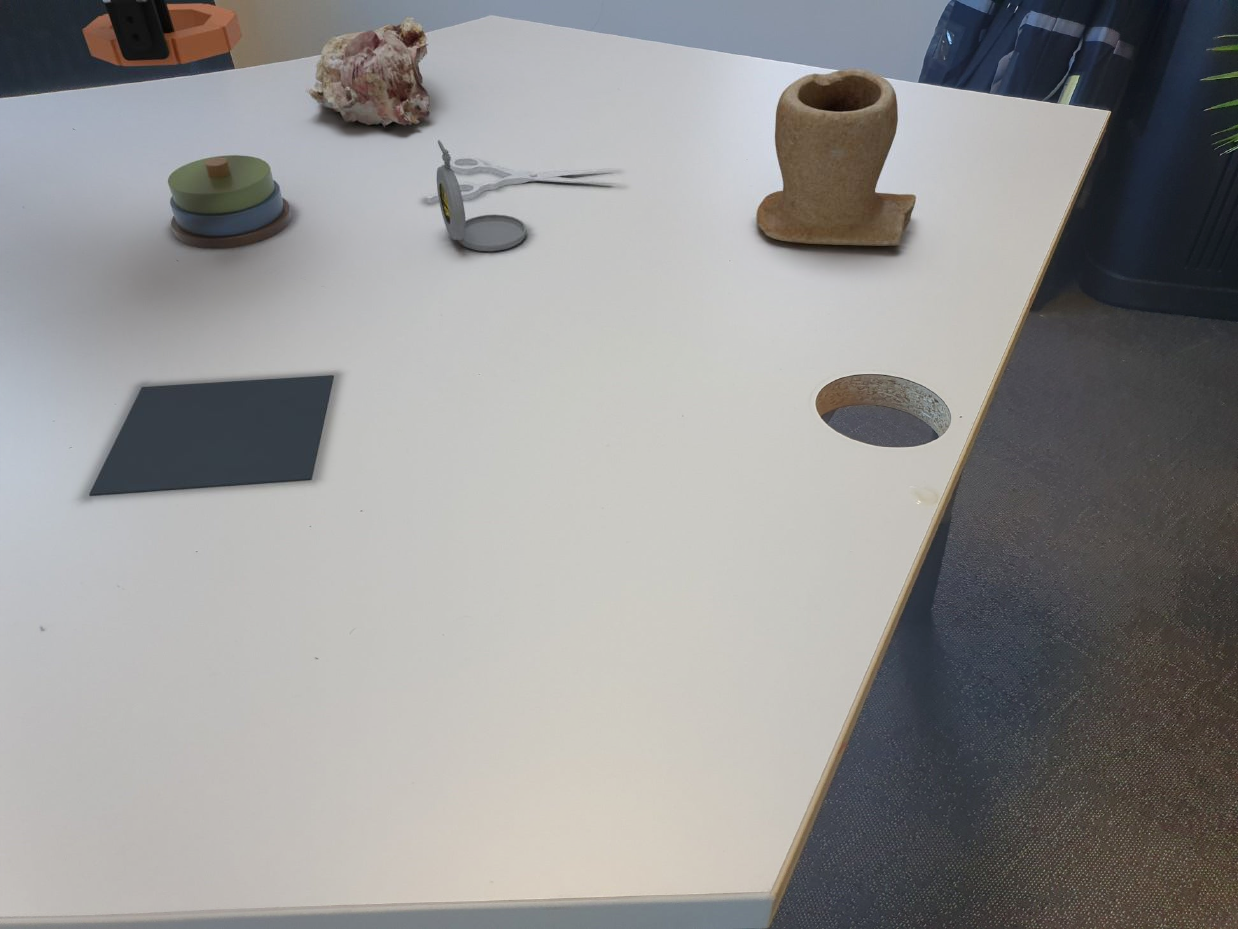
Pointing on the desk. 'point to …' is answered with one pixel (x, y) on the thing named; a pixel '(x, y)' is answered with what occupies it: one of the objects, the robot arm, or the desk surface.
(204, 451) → the mat
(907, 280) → the desk surface
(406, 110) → the mineral formation
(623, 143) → the desk surface
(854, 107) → the stone cup
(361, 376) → the desk surface
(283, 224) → the stack
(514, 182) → the scissors
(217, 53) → the ring
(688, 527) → the desk surface
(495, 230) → the pocket watch
